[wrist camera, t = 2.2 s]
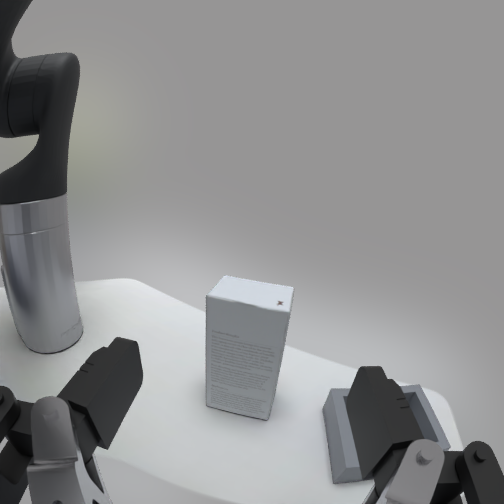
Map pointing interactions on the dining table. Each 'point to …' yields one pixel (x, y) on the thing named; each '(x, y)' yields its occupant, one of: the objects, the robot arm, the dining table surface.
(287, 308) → the skincare box
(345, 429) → the gray tray
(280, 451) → the dining table surface
